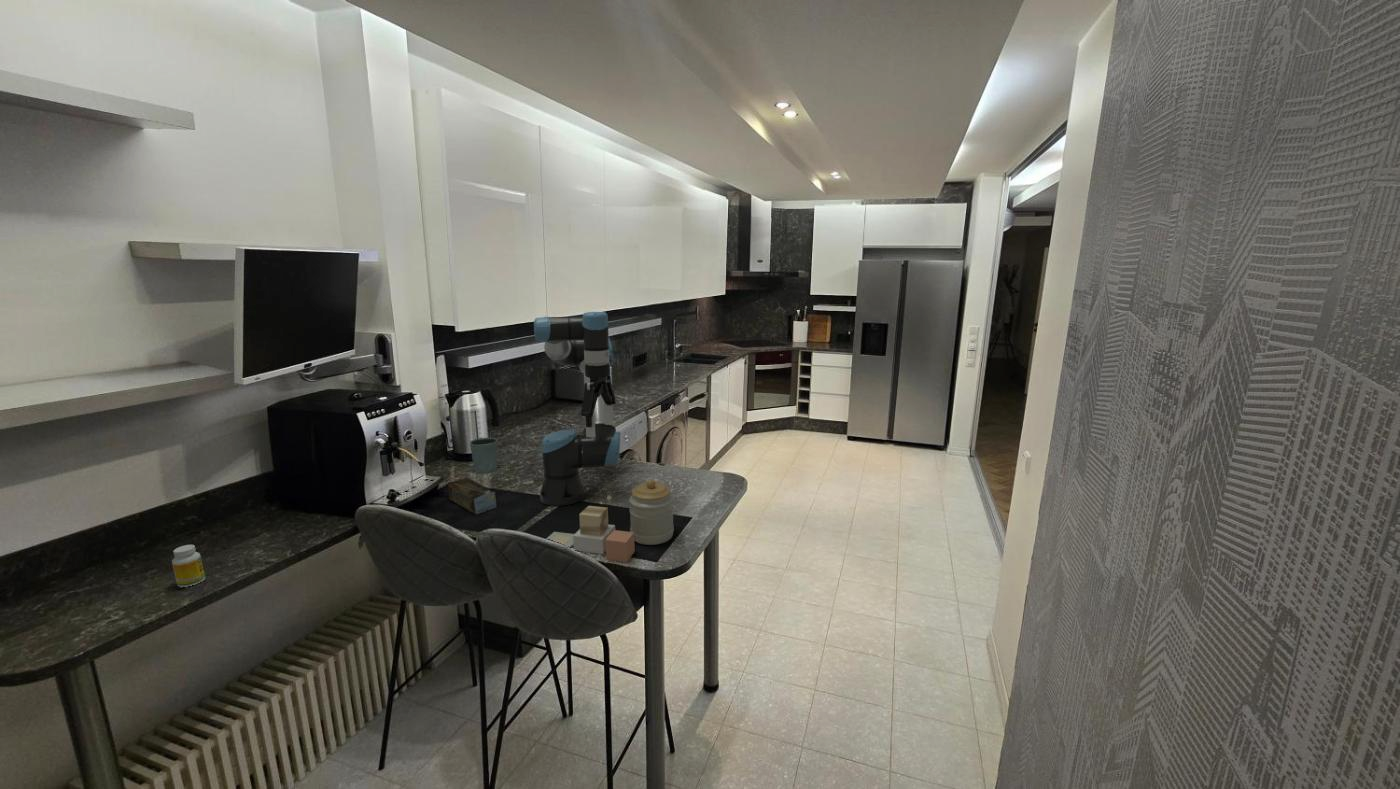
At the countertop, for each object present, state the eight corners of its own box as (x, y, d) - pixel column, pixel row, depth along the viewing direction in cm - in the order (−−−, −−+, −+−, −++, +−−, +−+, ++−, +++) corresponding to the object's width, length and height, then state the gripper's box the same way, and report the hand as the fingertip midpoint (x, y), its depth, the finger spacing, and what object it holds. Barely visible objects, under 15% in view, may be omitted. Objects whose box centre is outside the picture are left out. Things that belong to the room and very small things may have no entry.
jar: (621, 538, 163) (619, 482, 160) (647, 522, 174) (646, 469, 170) (657, 550, 157) (655, 491, 153) (682, 532, 168) (681, 477, 164)
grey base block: (573, 550, 157) (572, 535, 156) (587, 535, 165) (586, 522, 164) (603, 554, 155) (602, 539, 154) (615, 539, 163) (615, 525, 162)
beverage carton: (474, 515, 180) (472, 497, 178) (447, 500, 192) (445, 482, 191) (497, 508, 185) (495, 489, 184) (470, 493, 198) (468, 476, 196)
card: (538, 547, 158) (538, 545, 158) (554, 533, 167) (554, 531, 167) (567, 551, 156) (567, 549, 156) (581, 536, 165) (581, 534, 164)
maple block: (599, 536, 155) (599, 516, 154) (580, 533, 157) (579, 514, 156) (608, 526, 161) (607, 507, 160) (589, 524, 162) (588, 505, 161)
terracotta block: (606, 559, 152) (605, 539, 150) (614, 549, 157) (614, 529, 156) (626, 562, 150) (626, 542, 149) (634, 551, 156) (634, 532, 155)
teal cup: (467, 472, 217) (464, 443, 215) (483, 464, 227) (481, 436, 224) (488, 475, 215) (486, 445, 212) (505, 466, 224) (502, 438, 221)
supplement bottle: (176, 582, 141) (168, 548, 139) (204, 574, 145) (196, 540, 143) (178, 590, 138) (170, 555, 136) (207, 582, 142) (199, 547, 139)
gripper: (590, 371, 155) (594, 443, 160) (624, 357, 179) (626, 420, 184) (566, 370, 157) (570, 441, 162) (602, 356, 181) (605, 419, 185)
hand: (600, 430), depth 173 cm, fingers open, 13 cm apart
